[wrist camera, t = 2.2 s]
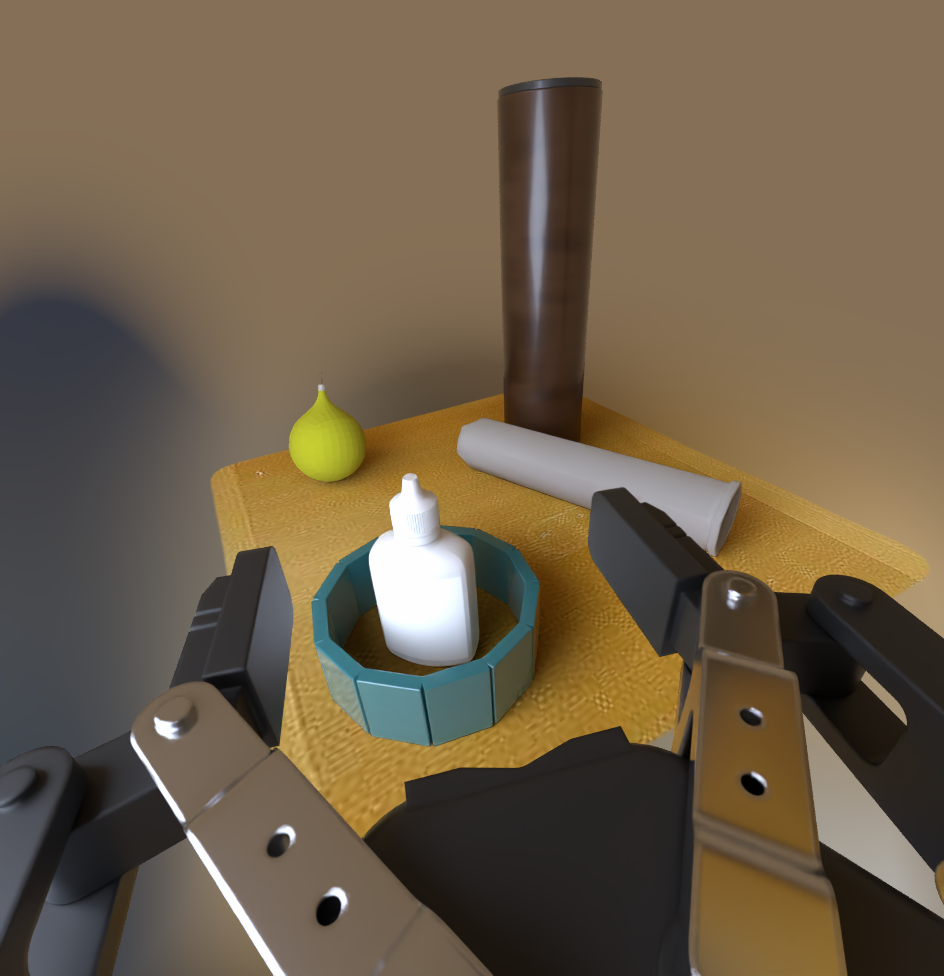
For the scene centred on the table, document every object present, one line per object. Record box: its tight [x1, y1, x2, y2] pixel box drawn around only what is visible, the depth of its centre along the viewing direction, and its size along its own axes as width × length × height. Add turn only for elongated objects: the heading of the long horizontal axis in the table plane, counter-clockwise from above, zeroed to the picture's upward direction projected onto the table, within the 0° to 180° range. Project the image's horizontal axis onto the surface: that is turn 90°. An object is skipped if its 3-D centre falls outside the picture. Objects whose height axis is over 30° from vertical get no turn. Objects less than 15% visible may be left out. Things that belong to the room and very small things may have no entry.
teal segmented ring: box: [311, 525, 540, 746], centre depth 29 cm, size 13×13×4 cm
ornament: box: [289, 385, 366, 482], centre depth 46 cm, size 7×7×10 cm
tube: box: [457, 418, 741, 557], centre depth 42 cm, size 5×5×25 cm
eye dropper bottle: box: [369, 474, 479, 667], centre depth 27 cm, size 4×6×12 cm
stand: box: [497, 77, 602, 443], centre depth 45 cm, size 8×8×30 cm
